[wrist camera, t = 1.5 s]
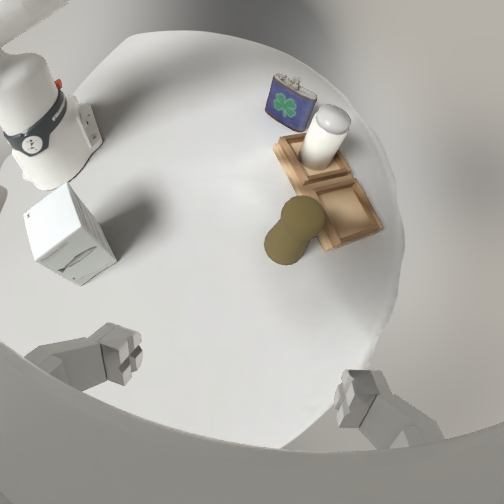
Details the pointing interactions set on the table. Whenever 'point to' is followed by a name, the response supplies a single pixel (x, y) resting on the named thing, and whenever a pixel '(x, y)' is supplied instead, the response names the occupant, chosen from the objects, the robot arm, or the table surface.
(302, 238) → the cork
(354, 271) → the table surface
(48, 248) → the supplement box
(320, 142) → the salt shaker
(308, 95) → the flask
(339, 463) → the robot arm
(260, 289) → the table surface
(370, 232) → the caddy
